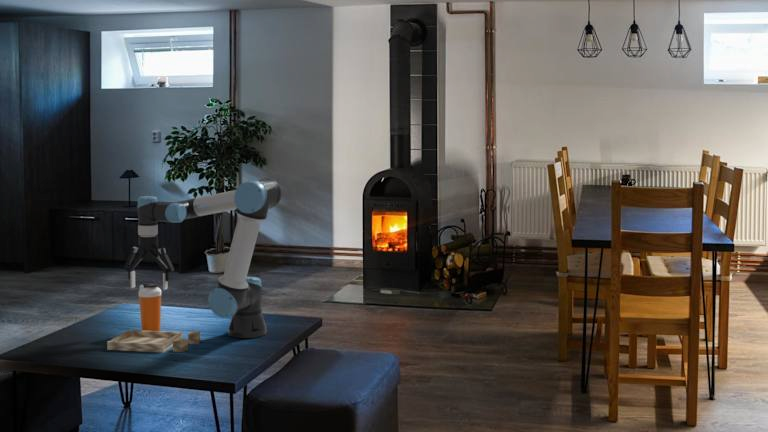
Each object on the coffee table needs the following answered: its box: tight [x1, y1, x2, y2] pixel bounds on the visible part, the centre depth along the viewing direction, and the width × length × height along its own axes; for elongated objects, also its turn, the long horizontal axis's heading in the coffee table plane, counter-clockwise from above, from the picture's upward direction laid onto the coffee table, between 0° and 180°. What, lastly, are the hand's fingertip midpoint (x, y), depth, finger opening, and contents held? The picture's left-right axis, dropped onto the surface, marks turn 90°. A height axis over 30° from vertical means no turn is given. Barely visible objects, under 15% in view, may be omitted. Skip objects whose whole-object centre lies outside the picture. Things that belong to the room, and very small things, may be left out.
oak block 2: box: [187, 330, 201, 345], centre depth 324 cm, size 4×4×4 cm
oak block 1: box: [172, 337, 189, 353], centre depth 314 cm, size 4×4×4 cm
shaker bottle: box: [137, 282, 162, 331], centre depth 337 cm, size 9×9×20 cm
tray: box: [106, 329, 183, 353], centre depth 321 cm, size 22×18×3 cm
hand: (149, 288), depth 336 cm, fingers open, 13 cm apart
